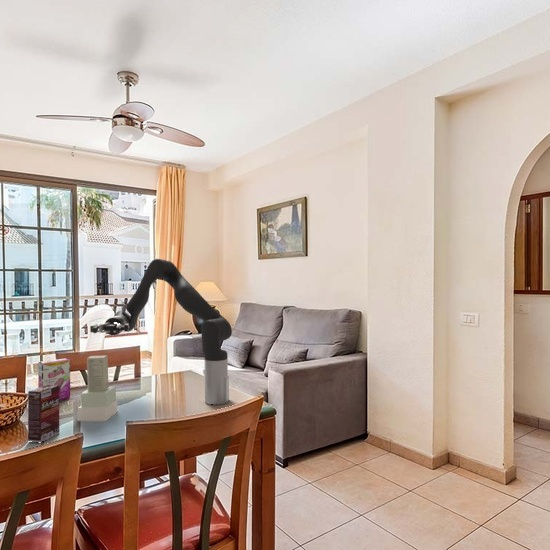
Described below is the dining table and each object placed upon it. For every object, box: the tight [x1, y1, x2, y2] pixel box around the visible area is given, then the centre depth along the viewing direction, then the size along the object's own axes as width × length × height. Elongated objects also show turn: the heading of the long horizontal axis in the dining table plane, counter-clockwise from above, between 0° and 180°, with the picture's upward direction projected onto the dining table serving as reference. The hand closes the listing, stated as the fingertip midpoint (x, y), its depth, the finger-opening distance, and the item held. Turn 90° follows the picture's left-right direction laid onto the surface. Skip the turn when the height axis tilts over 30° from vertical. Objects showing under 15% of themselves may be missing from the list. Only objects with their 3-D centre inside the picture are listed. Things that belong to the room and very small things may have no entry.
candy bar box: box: [37, 358, 71, 401], centre depth 174 cm, size 11×5×16 cm, turn 137°
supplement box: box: [27, 385, 60, 443], centre depth 133 cm, size 9×5×16 cm, turn 168°
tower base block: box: [77, 398, 118, 422], centre depth 153 cm, size 10×10×5 cm
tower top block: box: [80, 385, 117, 408], centre depth 153 cm, size 9×9×5 cm
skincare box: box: [86, 354, 109, 391], centre depth 153 cm, size 6×4×12 cm
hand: (105, 330), depth 164 cm, fingers open, 8 cm apart
